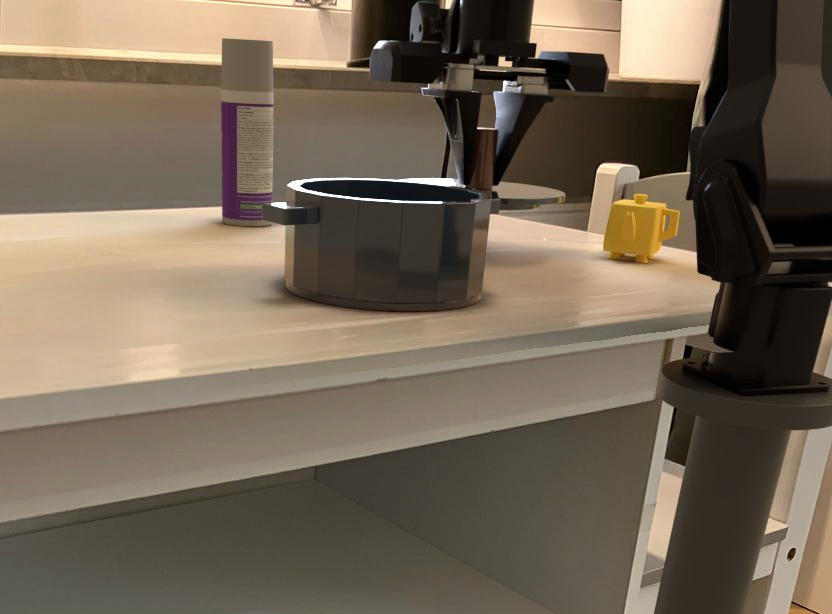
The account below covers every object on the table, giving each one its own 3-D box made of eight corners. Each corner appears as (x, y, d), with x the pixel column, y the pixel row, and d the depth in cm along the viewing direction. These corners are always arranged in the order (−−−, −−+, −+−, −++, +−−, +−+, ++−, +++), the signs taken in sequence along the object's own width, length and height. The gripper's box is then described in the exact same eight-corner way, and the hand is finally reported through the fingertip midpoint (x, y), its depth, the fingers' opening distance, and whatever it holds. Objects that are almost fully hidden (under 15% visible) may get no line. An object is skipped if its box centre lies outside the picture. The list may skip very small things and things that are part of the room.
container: (217, 218, 100) (215, 38, 93) (265, 219, 102) (267, 41, 94) (227, 226, 96) (226, 38, 89) (277, 226, 98) (279, 41, 91)
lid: (600, 210, 88) (611, 136, 85) (475, 216, 80) (483, 135, 77) (477, 189, 98) (484, 122, 95) (355, 193, 90) (359, 120, 87)
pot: (548, 297, 74) (561, 198, 71) (335, 323, 64) (340, 208, 60) (419, 265, 83) (426, 176, 80) (215, 283, 73) (214, 181, 69)
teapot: (661, 269, 88) (674, 202, 85) (593, 260, 90) (603, 195, 87) (678, 257, 94) (690, 194, 91) (614, 249, 96) (624, 188, 93)
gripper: (558, -21, 90) (534, 177, 98) (352, -39, 84) (343, 172, 92) (627, -28, 81) (595, 191, 88) (401, -49, 75) (387, 187, 83)
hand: (478, 185), depth 88 cm, fingers closed on lid, 2 cm apart
